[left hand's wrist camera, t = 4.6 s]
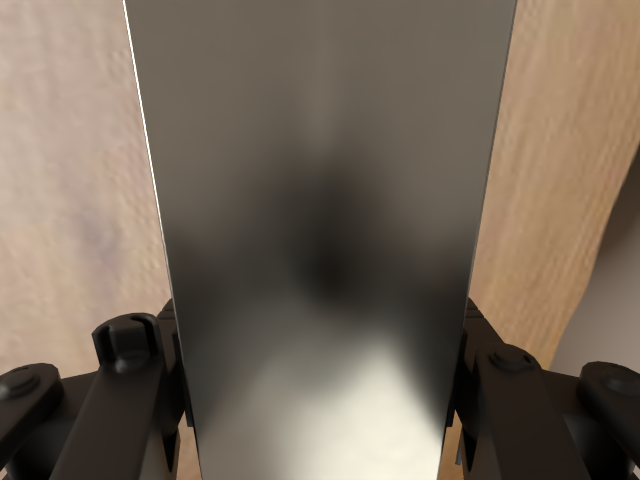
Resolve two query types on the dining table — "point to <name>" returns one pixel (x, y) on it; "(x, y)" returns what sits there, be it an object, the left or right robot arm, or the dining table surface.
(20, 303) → the dining table surface
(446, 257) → the bar
